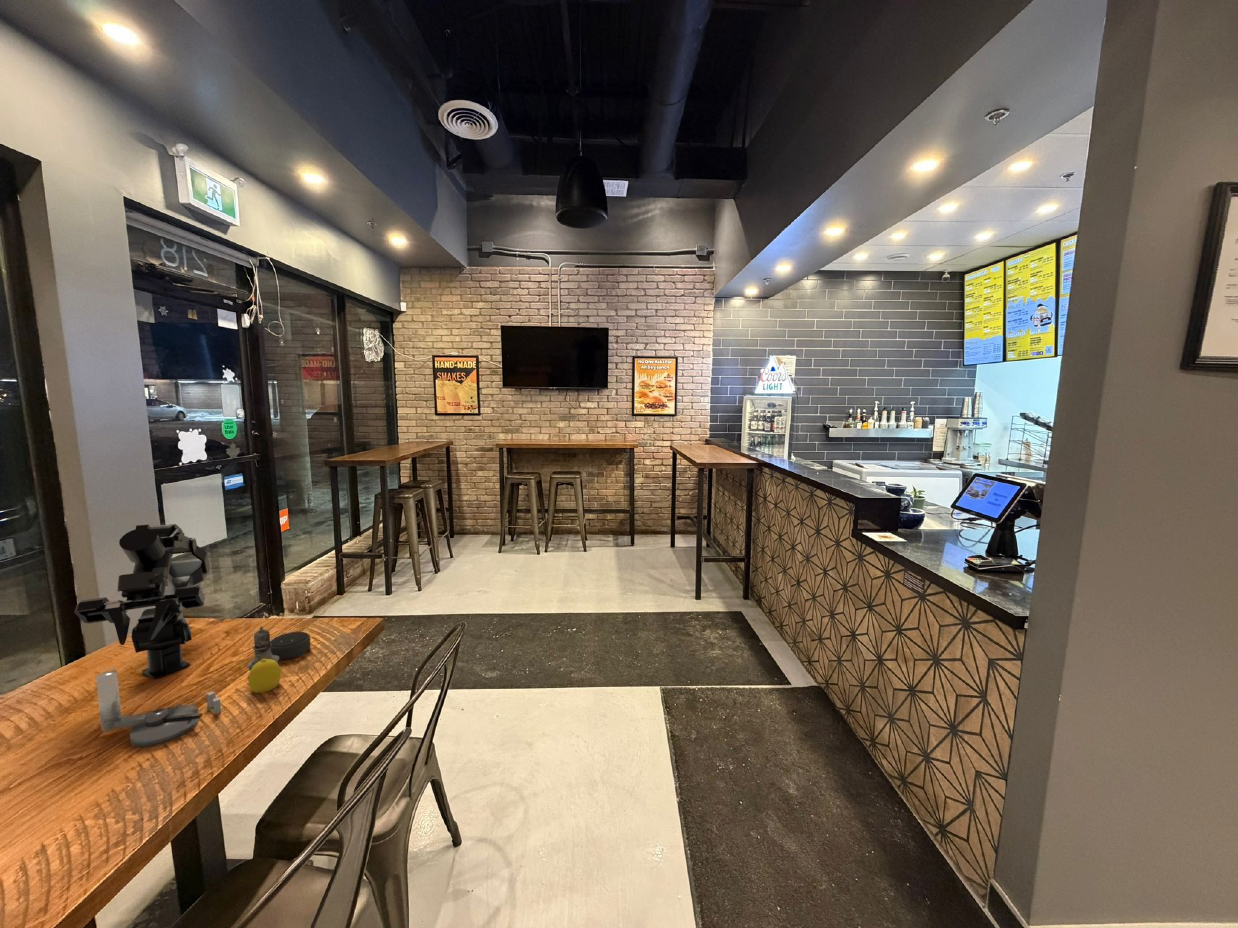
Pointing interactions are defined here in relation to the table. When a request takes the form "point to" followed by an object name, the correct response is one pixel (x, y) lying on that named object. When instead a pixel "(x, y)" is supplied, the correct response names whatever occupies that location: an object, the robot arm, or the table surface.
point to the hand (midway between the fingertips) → (136, 641)
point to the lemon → (264, 676)
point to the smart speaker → (290, 645)
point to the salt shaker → (262, 647)
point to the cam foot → (142, 716)
